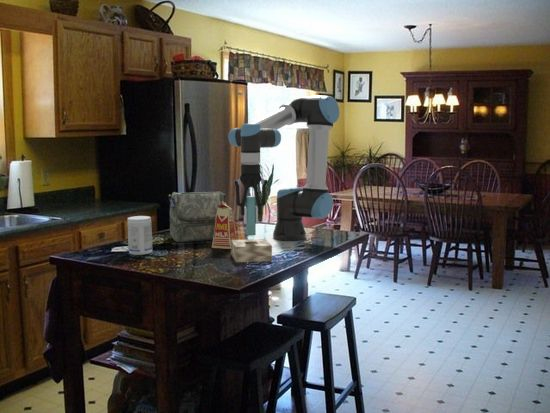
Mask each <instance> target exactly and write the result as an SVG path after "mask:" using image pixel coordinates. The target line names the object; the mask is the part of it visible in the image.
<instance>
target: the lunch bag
mask: <svg viewBox="0 0 550 413" xmlns="http://www.w3.org/2000/svg"><path fill="white" fill-rule="evenodd" d="M225 199H226V194H225V193H224V192H222V191H220V190H218V191H207V192H206V191H202V192H201V191H198V192H197V191H196V192H195V191H194V192H176V191H173V192H172V193H171V194H168V200H169V231H170V232H169V233H170V237H171V238H172V240H173V241H174V242H176V243H185V242H202V241H203V242H204V241H205V242H206V241H213V237H214V231H215V218H216V214H217V208H218V207H219V206H220V205H221V204H222V201H223V202H224V203H225V201H224V200H225Z"/></svg>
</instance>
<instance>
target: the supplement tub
mask: <svg viewBox="0 0 550 413" xmlns="http://www.w3.org/2000/svg"><path fill="white" fill-rule="evenodd" d="M152 229H153V228H152V217H151V216H148V215H135V216H134V215H133V216H130V217H127V239H128V240H127V243H128V244H127V245H128V252H129V254H130V255H134V256H143V255H149V254H151V253H152V252H153V231H152Z"/></svg>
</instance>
